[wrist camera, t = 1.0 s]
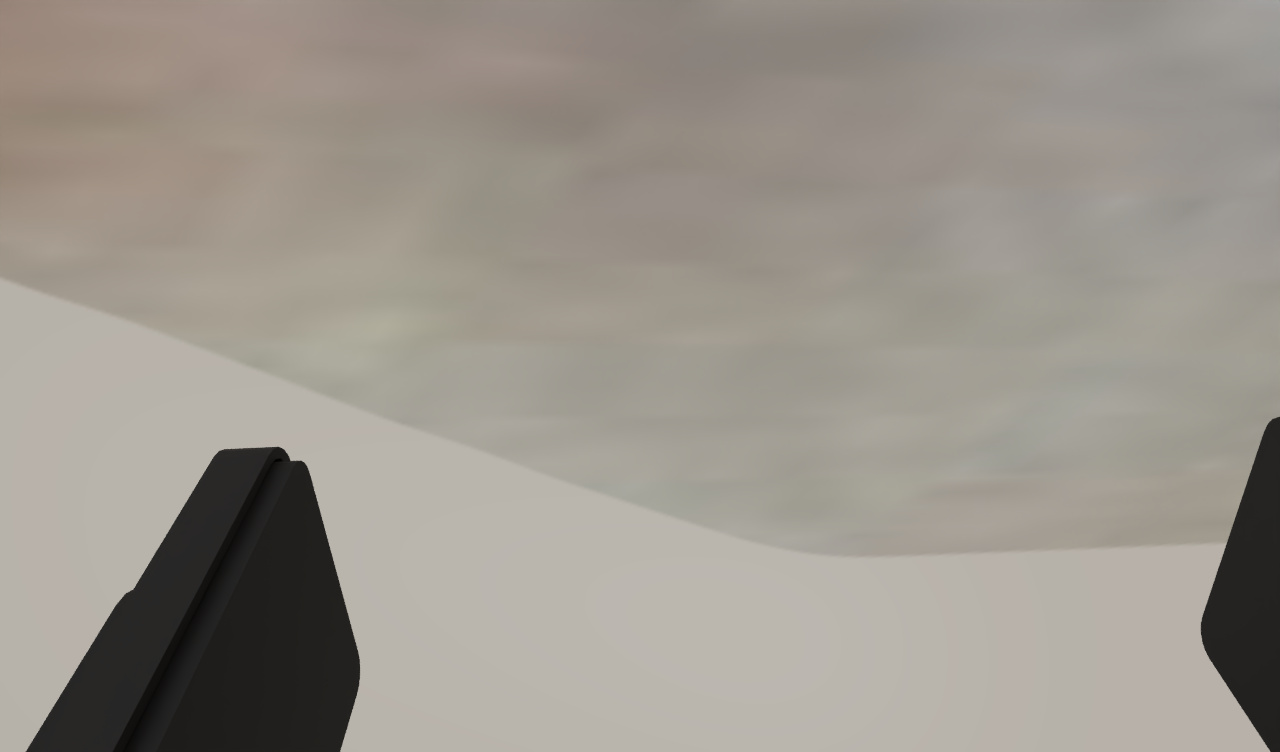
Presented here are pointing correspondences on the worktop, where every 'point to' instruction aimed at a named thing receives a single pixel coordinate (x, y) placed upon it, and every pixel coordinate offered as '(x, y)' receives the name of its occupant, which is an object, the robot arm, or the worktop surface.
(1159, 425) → the worktop surface
